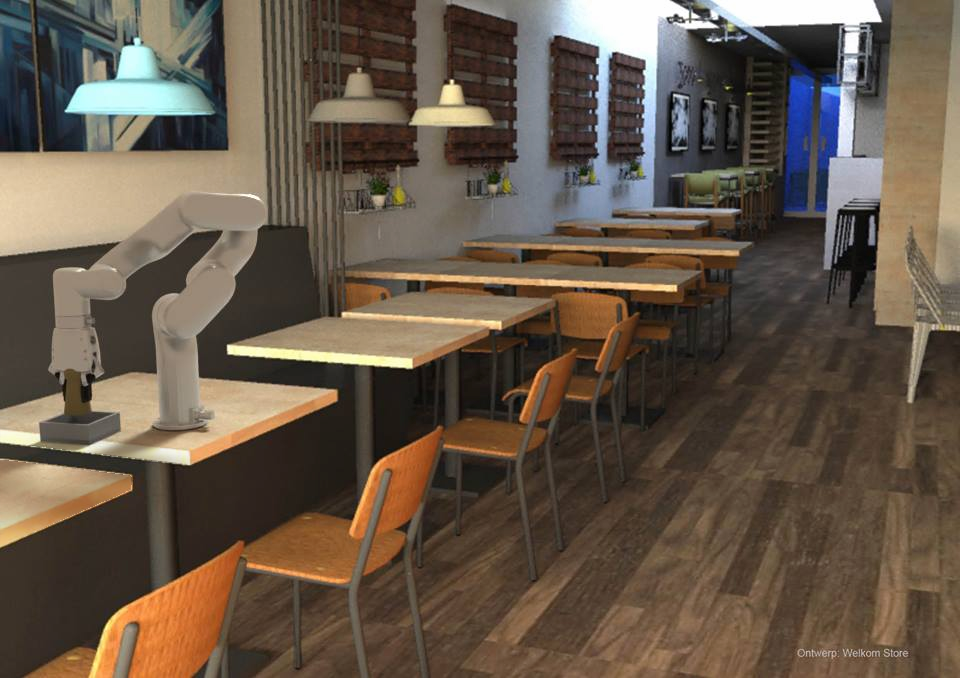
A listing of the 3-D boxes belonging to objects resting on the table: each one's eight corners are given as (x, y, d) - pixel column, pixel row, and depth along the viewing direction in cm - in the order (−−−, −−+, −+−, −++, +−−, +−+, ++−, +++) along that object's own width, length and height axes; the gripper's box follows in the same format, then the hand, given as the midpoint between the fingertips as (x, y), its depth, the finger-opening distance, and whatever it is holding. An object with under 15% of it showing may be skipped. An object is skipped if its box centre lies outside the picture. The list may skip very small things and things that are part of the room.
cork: (62, 415, 245) (59, 368, 243) (65, 409, 250) (62, 363, 248) (90, 414, 246) (88, 367, 244) (92, 408, 252) (90, 362, 250)
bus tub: (120, 430, 254) (119, 412, 253) (89, 445, 242) (88, 425, 241) (73, 427, 257) (72, 409, 256) (40, 441, 245) (39, 422, 244)
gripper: (115, 321, 246) (119, 399, 249) (51, 318, 250) (55, 395, 253) (96, 326, 239) (100, 407, 242) (30, 323, 243) (35, 402, 246)
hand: (77, 400), depth 248 cm, fingers closed on cork, 3 cm apart
